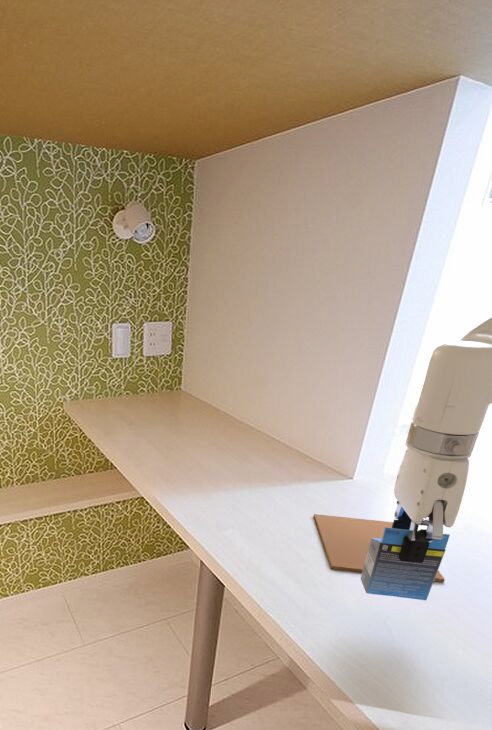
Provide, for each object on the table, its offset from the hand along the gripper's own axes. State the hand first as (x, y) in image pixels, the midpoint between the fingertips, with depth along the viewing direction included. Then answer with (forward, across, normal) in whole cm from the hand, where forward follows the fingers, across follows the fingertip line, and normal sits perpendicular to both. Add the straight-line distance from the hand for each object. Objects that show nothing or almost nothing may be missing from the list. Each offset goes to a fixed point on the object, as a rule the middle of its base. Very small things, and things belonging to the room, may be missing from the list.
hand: (405, 550), depth 66 cm
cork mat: (+14, +23, -4) cm, 27 cm away
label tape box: (+8, 0, 0) cm, 8 cm away
